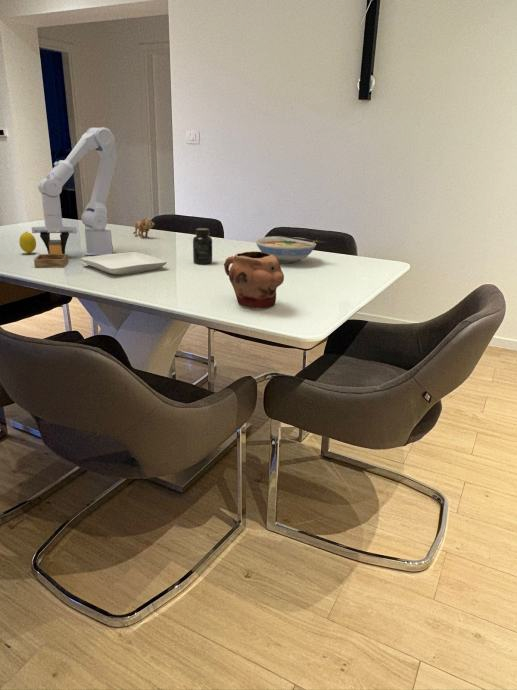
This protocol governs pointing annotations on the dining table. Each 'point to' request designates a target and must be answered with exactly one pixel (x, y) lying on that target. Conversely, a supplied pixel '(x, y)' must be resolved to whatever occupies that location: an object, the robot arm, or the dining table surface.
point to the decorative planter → (254, 278)
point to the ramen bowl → (287, 247)
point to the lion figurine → (143, 227)
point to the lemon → (27, 242)
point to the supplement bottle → (202, 247)
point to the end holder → (51, 260)
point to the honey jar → (55, 247)
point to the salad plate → (124, 263)
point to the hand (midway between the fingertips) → (56, 253)
